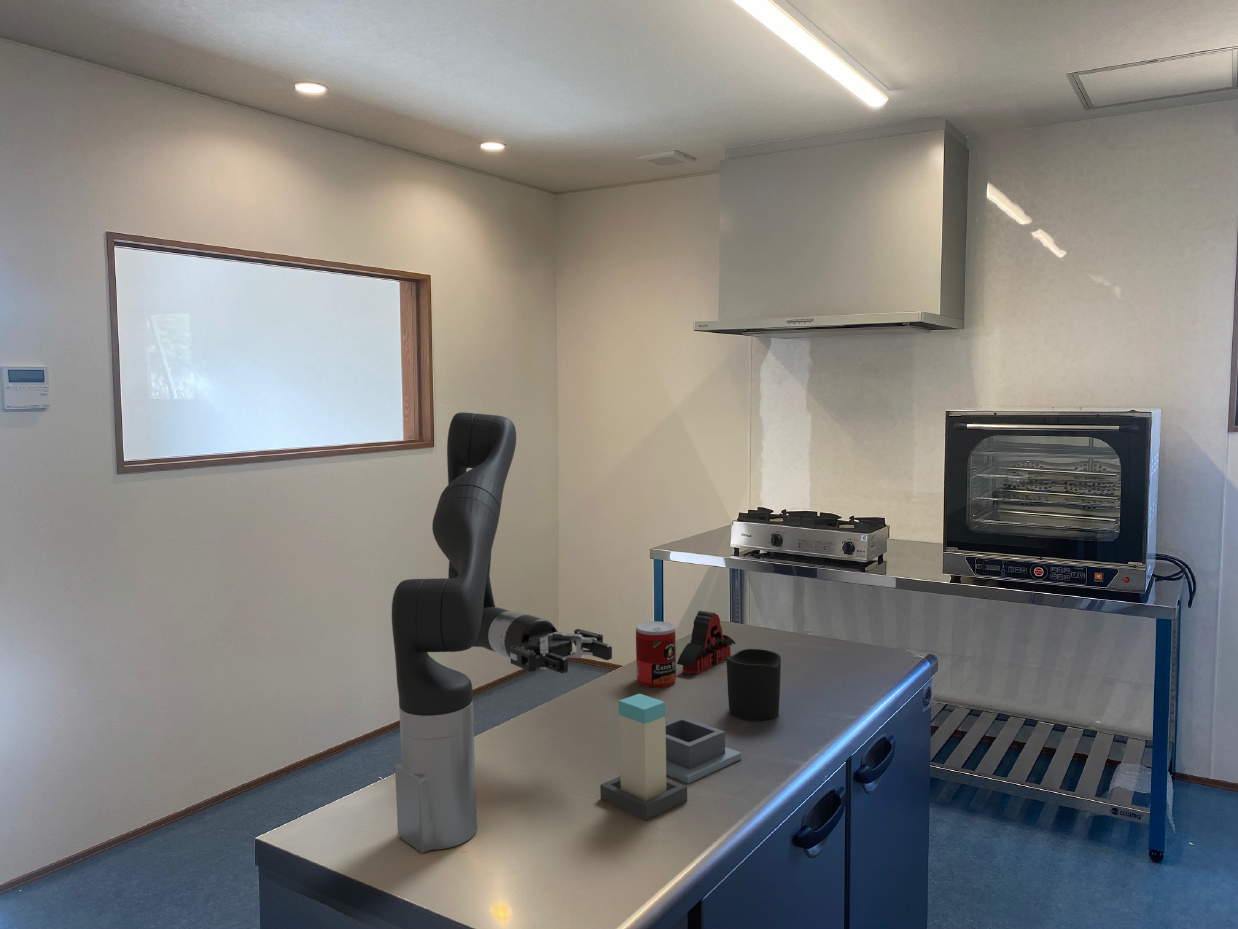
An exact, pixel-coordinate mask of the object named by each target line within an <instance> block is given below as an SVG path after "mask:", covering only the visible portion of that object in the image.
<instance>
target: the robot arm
mask: <svg viewBox="0 0 1238 929" xmlns="http://www.w3.org/2000/svg"><path fill="white" fill-rule="evenodd" d="M516 446H517V430H516V426H515V424H514V422H513V420H511V419H510V418H509V417H506V416H503V415H498V414H495V415H494V414H486V413H485V414H484V413H475V412H462V411H460V412H457V413H455V414H454V415H453V416H452V418H451V421H450V424H449V426H448V434H447V444H446V451H447V452H446V455H447V456H446V457H447V458H446V460H447V461H446V462H447V483H448V484H447V486H446V487H445V488H444V489H443V491H442V492H441V494H440V496H439V499H438V502H437V505H436V508H435V512H434V515H433V518H432V525H431V526H432V527H431V528H432V533H433V538H434V541H435V543H436V544H437V546H438V547H439V550H441V552H442V553H443V555H444V556H445V557H446V558H447V560H448V571H447V572H448V574H447V576H448V578H446V577H445V578H440V577H439V578H409V579H404V580H402V581H400V582H399V583H398V585H397V586H396V587H395V589H394V592H393V596H392V602H391V627H392V628H391V629H392V637H393V639H392V640H393V648H394V658H395V669H396V673H395V674H396V684H397V686H396V688H397V693H398V708H399V732H400V733H399V734H400V735H399V737H400V760H401V762H400V763H397V764H396V765H395V767H394V772H395V773H394V774H395V775H394V776H395V793H396V794H395V795H396V796H395V797H396V817H397V818H396V822H397V837H399V836H400V837H401V838H402V839H401V838H400V837H399V838H400V839H401V840H403V839H404V840H405V841H404V840H403V841H404V842H406V843H407V842H408V843H409V844H408V843H407V844H408V845H410V844H411V845H413V846H412V847H413V848H414V847H415V848H416V849H415V848H414V849H415V850H417V851H418V850H419V851H418V852H419V853H422V852H423V853H426V852H429V851H432V850H433V851H434V850H443V849H445V850H446V849H450V848H453V847H457V846H459V845H461V844H465V842H467V841H469V840H471V838H473V837H474V836H475V835H476V833H477V830H478V822H477V820H478V818H477V815H478V811H477V792H476V791H477V789H476V760H475V759H476V758H475V736H474V734H475V732H474V731H475V730H474V728H475V727H474V705H473V704H474V699H473V698H474V696H473V684H472V680H471V679H470V678H469V676H468V675H466V674H465V673H462V672H461V671H458V670H455V669H453V668H451V667H450V668H449V667H447V666H445V665H443V664H441V663H439V662H438V661H436V660H435V659H434V658H433V657H431V656H430V654H429V653H451V652H452V653H456V652H464V651H467V650H470V649H471V648H473V647H475V648H484V649H487V650H488V651H491V652H494V653H497V654H498V655H500V656H503V658H506V659H509V660H510V664H512V665H514V666H516V667H518V668H520V669H523V670H526V671H528V672H532V673H533V672H536V671H537V668H540V669H541V670H543V671H546V670H551V671H554V672H557V673H559V674H567V673H568V671H569V665H568V664H569V662H568V658H569V659H571V658H572V659H580V658H581V657H582V656H592V657H595V658H599V659H602V660H605V661H609V660H611V659H612V658H613V646H611V644H608V643H605V642H604V635H603V634H600V633H595V632H592V631H588V630H584V629H580V628H576V629H574V630H573V632H574V633H565V632H564V631H558V629H556V627H555V626H554V624H553V623H552V622H551V621H549V620H547V619H545V618H541V617H537V616H534V615H531V614H528V613H525V612H524V613H523V612H520V611H511V610H507V609H505V608H502V607H496V604H495V600H494V595H493V590H492V584H491V578H490V576H491V575H490V574H491V572H490V571H491V561H492V548H493V545H494V540H495V538H496V534H497V530H498V526H499V520H500V515H501V510H502V509H501V508H502V501H503V493H504V490H505V484H506V481H507V478H508V474H509V471H510V468H511V465H512V462H513V459H514V455H515V451H516ZM467 469H469V470H467ZM573 644H574V646H575V647H576V651H573ZM411 845H410V846H411Z"/></svg>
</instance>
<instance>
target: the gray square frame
mask: <svg viewBox="0 0 1238 929" xmlns="http://www.w3.org/2000/svg"><path fill="white" fill-rule="evenodd" d="M599 787H600V788H599V789H600V799H601V800H603V801H604V802H607V803H609V804H610V805H613V806H615V807H617V808H619V809H622V810H623V811H625V812H628V813H629V814H632V815H634V816H636V817H638V818H639V819H642V820H644V821H648V820H650V819H652V818H654V817H656V816H658V815H660V814H663V813H665V812H666V811H669V810H671V809H673V808H675V807H677V806H679V805H682V804H683V803H686V802H687V801H688V786H686V785H684V784H682V783H681V782H680V783H679V782H677V781H675V780H672V779H670V778H667V777H666V787H667V791H666V792H664V793H662V794H660V795H658V796H655V797H653V798H651V799H649V800H647V801H645V800H643V799H641V798H638V797H636V796H634V795H632V794H630V793H628V792H625V791H623V790H621V779H620V776H617V777H615V778H613V779H610V780H609V781H608V780H607V781H605V782H603V783H601V784H600V786H599Z"/></svg>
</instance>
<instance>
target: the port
mask: <svg viewBox="0 0 1238 929" xmlns="http://www.w3.org/2000/svg"><path fill="white" fill-rule="evenodd" d="M665 726H666V776H669V777H671V778H673V779H676V780H679V781H680V782H683V783H685V784H691V783H692V782H694V781H697V780H699V779H702V778H703V777H705V776H707V775H710V774H712V773H714V772H717V771H718V770H720V769H723V768H725V767H727V766H730V765H732V764H733V763H736V762H738V761H740V760H742V752H741V751H738V750H735V749H732V748H729V747H726V731H724V730H721V729H719V728H716V727H713V726H710V725H709V724H708V725H707V724H705V723H702V722H699V721H696V720H693V719H691V718H687V717H685V716H679V717H676V718H673V719H671V720H669V721H665Z"/></svg>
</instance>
